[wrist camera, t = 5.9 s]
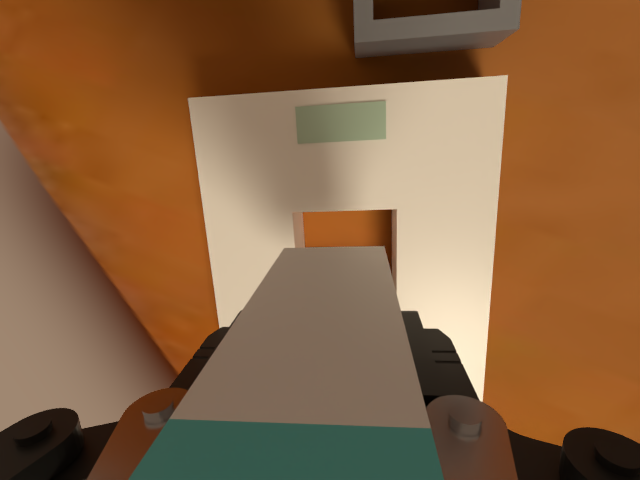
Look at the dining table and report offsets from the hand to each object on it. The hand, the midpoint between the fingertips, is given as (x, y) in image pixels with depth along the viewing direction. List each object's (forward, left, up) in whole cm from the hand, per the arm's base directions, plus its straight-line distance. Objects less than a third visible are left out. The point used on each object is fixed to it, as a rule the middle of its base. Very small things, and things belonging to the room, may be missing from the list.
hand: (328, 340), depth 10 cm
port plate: (0, 0, -11) cm, 11 cm away
